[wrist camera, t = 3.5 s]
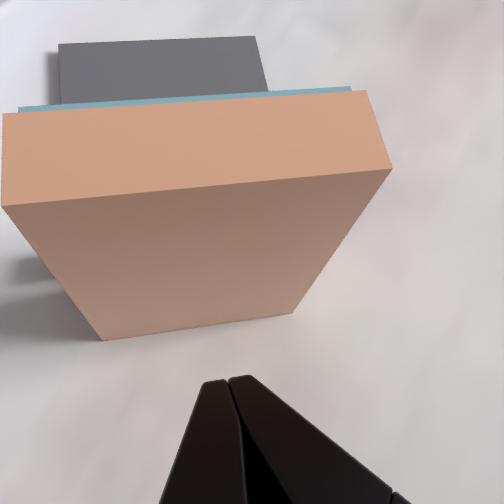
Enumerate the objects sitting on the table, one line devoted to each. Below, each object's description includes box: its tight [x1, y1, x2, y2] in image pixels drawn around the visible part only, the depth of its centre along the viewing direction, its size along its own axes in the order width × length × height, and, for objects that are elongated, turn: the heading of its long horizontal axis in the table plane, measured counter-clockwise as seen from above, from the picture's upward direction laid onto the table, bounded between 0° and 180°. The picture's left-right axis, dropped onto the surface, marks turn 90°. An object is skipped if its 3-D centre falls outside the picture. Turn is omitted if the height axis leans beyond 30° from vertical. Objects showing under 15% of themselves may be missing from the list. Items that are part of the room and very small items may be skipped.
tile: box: [1, 86, 393, 341], centre depth 14 cm, size 2×7×10 cm, turn 101°
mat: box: [58, 36, 268, 104], centre depth 21 cm, size 10×9×1 cm
